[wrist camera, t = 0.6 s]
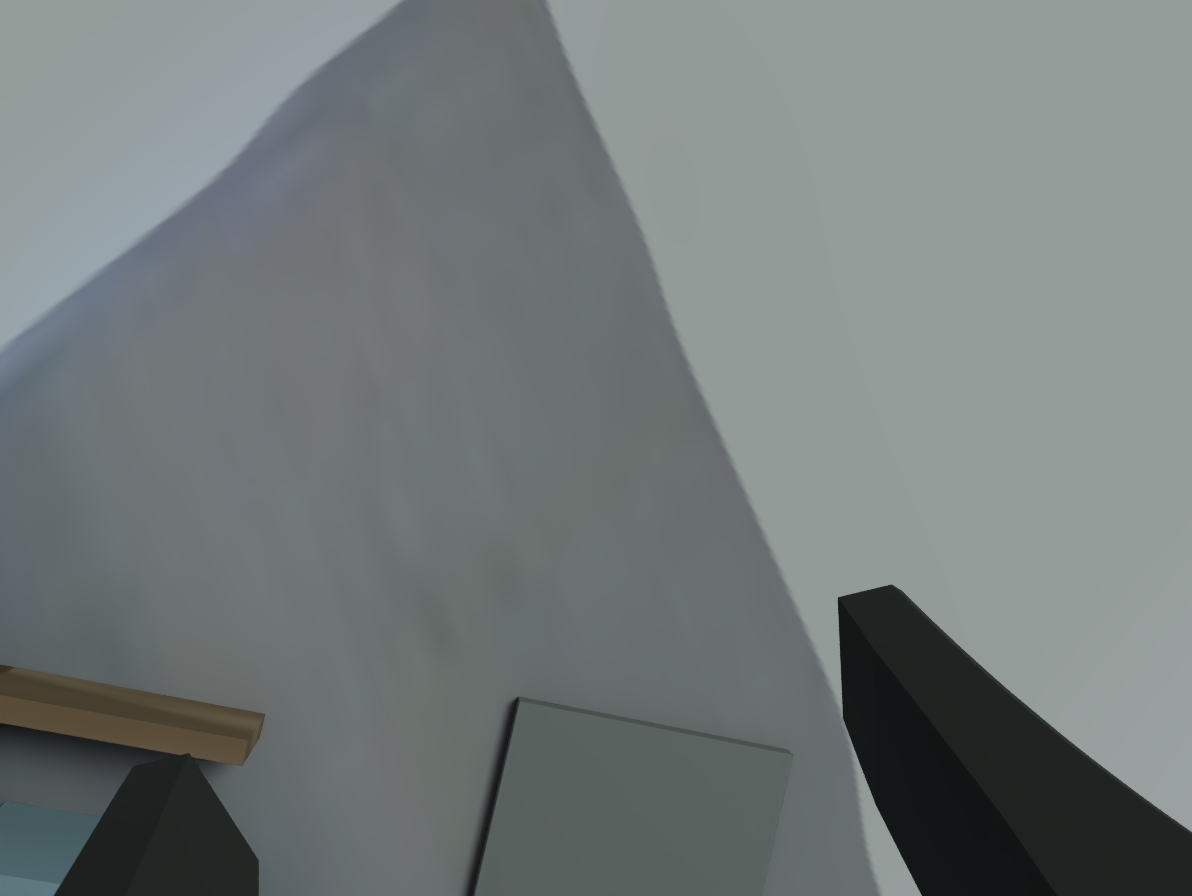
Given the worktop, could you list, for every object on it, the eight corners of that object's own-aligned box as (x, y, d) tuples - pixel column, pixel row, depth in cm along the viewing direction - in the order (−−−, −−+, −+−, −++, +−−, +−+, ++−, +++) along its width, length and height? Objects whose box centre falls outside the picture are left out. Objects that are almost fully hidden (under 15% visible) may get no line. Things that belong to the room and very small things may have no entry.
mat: (719, 1050, 37) (724, 1060, 36) (445, 1009, 35) (445, 1019, 34) (787, 749, 37) (793, 754, 36) (518, 697, 35) (519, 701, 35)
